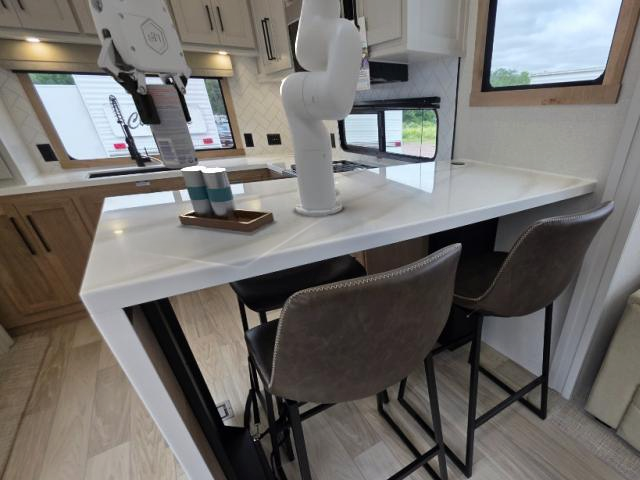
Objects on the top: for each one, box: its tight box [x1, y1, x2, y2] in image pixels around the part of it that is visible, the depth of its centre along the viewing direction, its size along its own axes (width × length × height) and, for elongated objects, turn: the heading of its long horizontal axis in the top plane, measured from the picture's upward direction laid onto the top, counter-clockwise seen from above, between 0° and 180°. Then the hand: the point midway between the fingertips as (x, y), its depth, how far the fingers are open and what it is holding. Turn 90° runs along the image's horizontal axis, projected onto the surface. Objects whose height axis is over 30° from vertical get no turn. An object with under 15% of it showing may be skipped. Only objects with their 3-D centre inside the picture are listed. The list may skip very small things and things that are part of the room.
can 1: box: [180, 166, 215, 219], centre depth 78 cm, size 5×5×12 cm
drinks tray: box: [178, 208, 275, 234], centre depth 80 cm, size 9×19×2 cm, turn 74°
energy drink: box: [146, 83, 199, 169], centre depth 55 cm, size 5×5×12 cm
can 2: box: [201, 167, 239, 222], centre depth 77 cm, size 5×5×12 cm
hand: (167, 121), depth 54 cm, fingers closed on energy drink, 5 cm apart
